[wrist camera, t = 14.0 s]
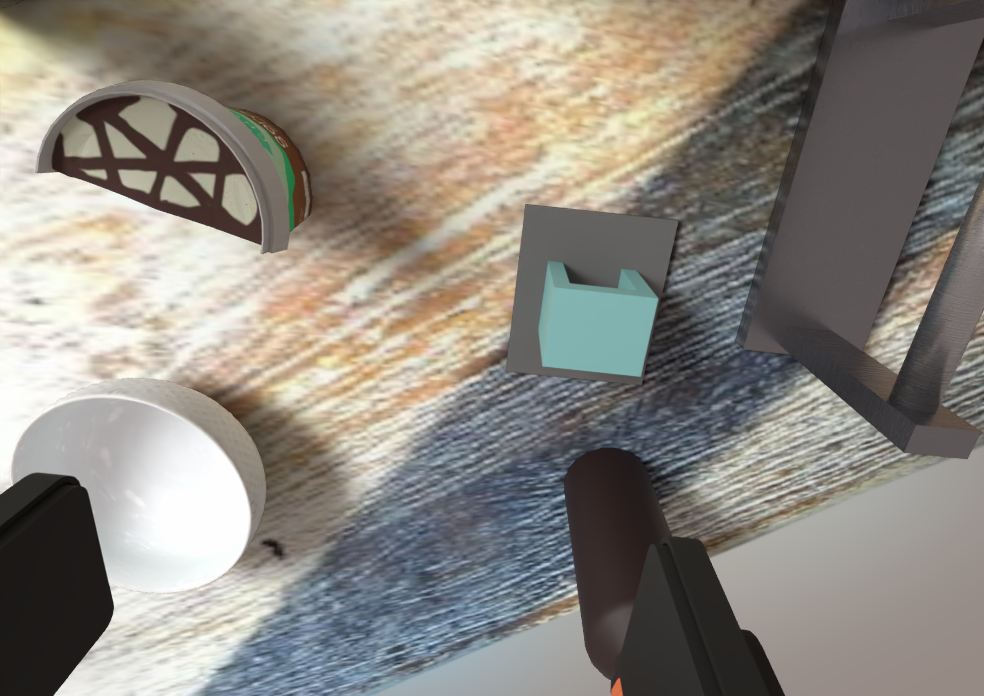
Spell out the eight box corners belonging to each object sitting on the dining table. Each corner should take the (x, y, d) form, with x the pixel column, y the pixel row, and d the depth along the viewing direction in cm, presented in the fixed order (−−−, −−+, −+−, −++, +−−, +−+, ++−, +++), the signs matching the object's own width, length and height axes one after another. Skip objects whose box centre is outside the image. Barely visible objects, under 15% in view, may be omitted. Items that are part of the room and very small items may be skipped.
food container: (355, 131, 35) (299, 137, 26) (331, 223, 38) (272, 258, 28) (160, 55, 34) (28, 33, 25) (148, 155, 36) (23, 168, 27)
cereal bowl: (261, 555, 49) (222, 623, 43) (70, 492, 47) (0, 553, 41) (312, 400, 43) (276, 451, 36) (95, 319, 41) (16, 358, 34)
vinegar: (570, 520, 46) (607, 788, 28) (557, 452, 44) (588, 697, 25) (652, 508, 46) (746, 776, 27) (643, 439, 43) (741, 681, 25)
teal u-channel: (548, 260, 38) (554, 287, 32) (636, 270, 38) (658, 298, 32) (538, 329, 39) (542, 366, 34) (622, 338, 40) (640, 376, 34)
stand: (839, -21, 31) (1084, -123, 18) (980, -6, 31) (1330, -96, 18) (735, 341, 40) (847, 456, 26) (846, 352, 40) (1015, 473, 26)
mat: (525, 204, 37) (525, 205, 36) (676, 219, 37) (678, 220, 36) (506, 369, 41) (506, 371, 41) (640, 382, 41) (641, 385, 41)
